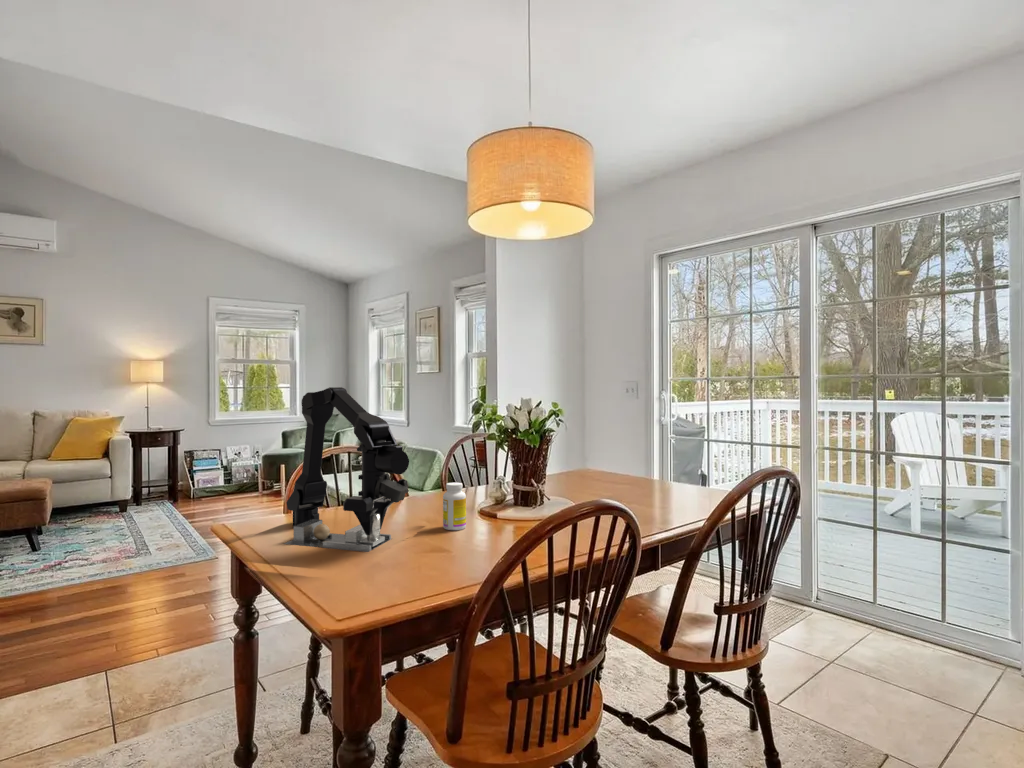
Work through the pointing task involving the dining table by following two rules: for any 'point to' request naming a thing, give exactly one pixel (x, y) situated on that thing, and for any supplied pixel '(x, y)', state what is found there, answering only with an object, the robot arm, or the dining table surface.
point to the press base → (333, 541)
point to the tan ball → (321, 531)
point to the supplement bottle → (454, 507)
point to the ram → (359, 536)
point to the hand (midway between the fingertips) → (373, 532)
